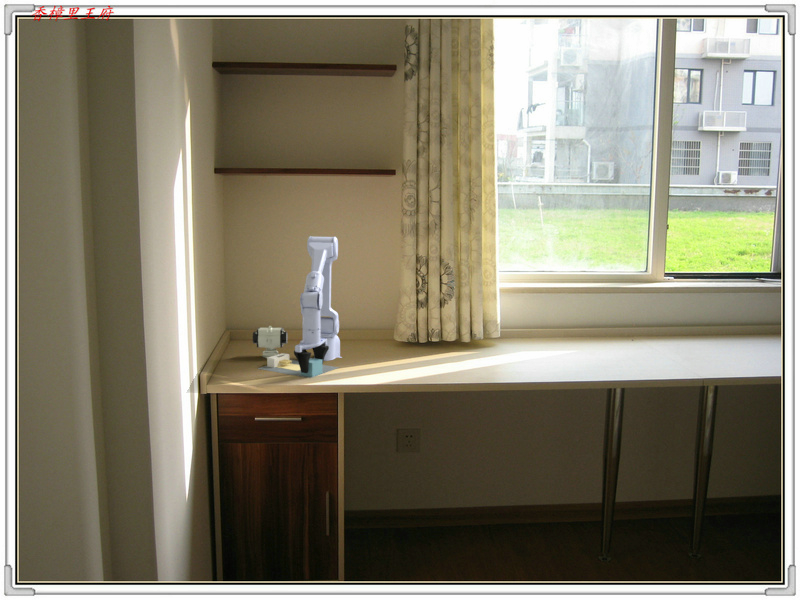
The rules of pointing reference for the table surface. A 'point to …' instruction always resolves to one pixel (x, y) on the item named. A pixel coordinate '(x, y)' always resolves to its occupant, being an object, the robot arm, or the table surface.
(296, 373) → the mat
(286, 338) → the pneumatic valve
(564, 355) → the table surface
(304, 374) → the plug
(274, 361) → the header
